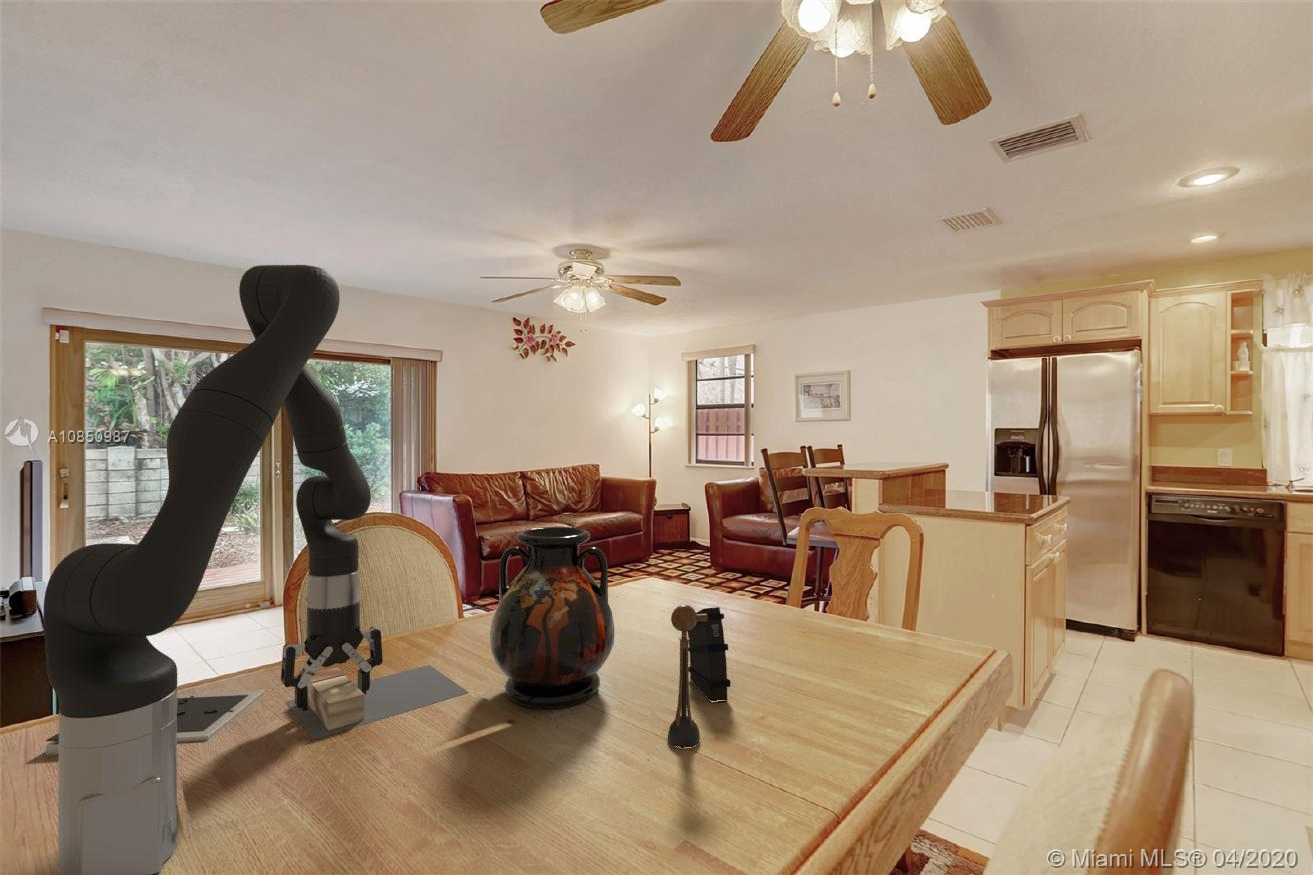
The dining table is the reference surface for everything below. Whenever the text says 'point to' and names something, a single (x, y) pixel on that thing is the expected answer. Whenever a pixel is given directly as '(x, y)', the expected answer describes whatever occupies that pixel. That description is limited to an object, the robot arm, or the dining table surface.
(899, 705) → the dining table surface
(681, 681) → the wooden tabletop sculpture
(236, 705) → the picture frame
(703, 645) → the black banded case
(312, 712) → the rubber mat
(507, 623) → the amphora vase
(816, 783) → the dining table surface
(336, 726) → the beige wooden block
